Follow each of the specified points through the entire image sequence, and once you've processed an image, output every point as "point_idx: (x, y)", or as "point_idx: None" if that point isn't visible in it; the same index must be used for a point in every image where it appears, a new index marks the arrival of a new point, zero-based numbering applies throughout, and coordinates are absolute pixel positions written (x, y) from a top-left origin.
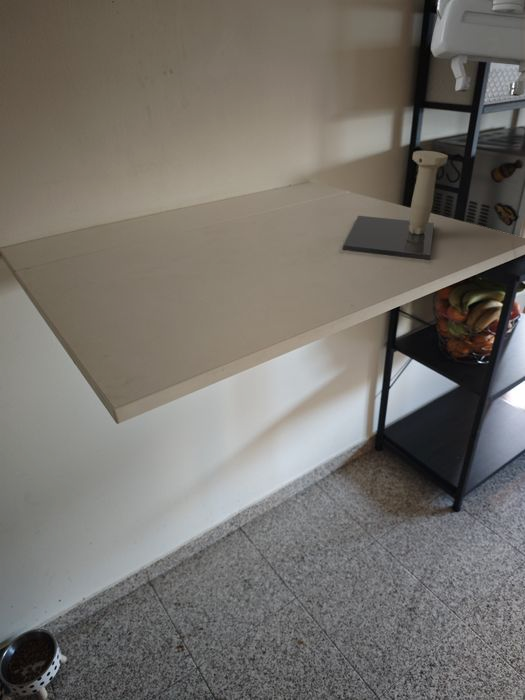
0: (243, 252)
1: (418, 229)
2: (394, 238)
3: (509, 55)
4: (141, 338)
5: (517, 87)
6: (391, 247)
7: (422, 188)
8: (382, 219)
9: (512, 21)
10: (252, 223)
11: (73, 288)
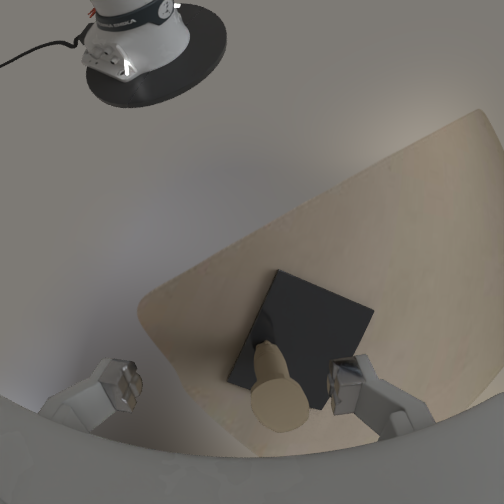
0: (454, 304)
1: (270, 343)
2: (305, 330)
3: (149, 451)
4: (492, 163)
5: (122, 368)
6: (320, 299)
7: (283, 367)
8: None
9: None
10: (430, 385)
11: None
